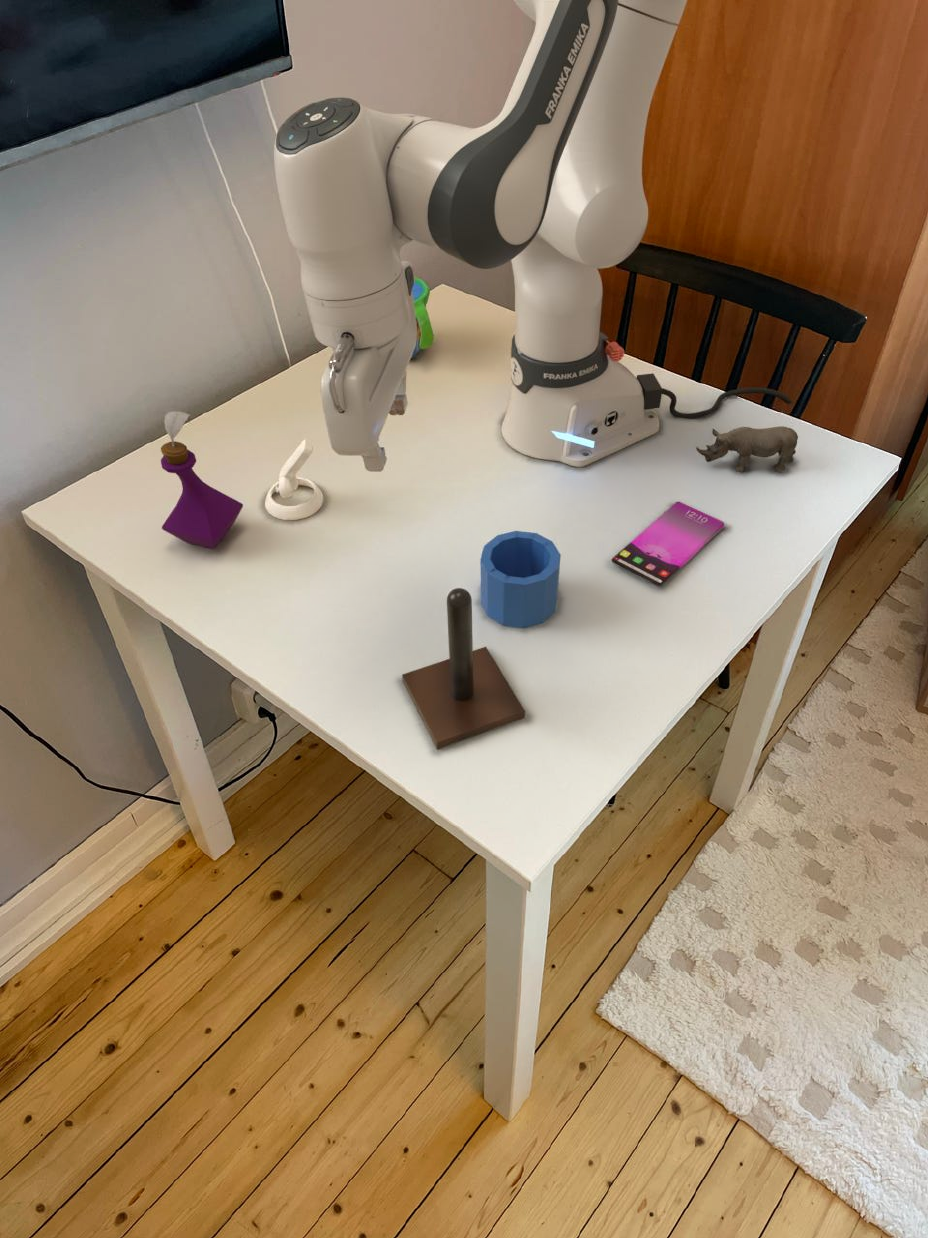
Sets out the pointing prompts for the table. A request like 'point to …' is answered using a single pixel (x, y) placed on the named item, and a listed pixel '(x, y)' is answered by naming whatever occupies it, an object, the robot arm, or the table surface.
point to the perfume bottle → (194, 495)
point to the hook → (294, 487)
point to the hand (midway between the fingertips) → (388, 438)
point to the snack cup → (422, 316)
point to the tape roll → (519, 579)
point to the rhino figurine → (754, 445)
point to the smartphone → (668, 543)
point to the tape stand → (462, 684)
